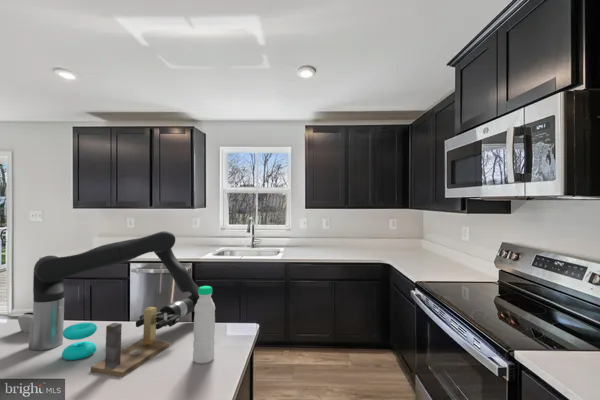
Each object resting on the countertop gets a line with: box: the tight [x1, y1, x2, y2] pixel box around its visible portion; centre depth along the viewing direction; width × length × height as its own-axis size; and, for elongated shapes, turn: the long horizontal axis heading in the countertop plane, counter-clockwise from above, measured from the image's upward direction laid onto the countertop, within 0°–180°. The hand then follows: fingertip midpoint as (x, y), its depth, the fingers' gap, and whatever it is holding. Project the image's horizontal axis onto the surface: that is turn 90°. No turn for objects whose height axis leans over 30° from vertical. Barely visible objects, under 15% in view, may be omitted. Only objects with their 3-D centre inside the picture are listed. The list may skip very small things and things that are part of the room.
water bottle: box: [192, 285, 216, 365], centre depth 111 cm, size 7×7×25 cm
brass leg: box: [142, 306, 158, 346], centre depth 119 cm, size 3×3×13 cm
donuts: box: [61, 322, 98, 361], centre depth 113 cm, size 10×10×10 cm
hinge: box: [17, 310, 33, 333], centre depth 132 cm, size 17×5×10 cm, turn 72°
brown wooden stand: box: [90, 322, 170, 378], centre depth 111 cm, size 23×12×14 cm, turn 166°
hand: (146, 325), depth 117 cm, fingers open, 8 cm apart
